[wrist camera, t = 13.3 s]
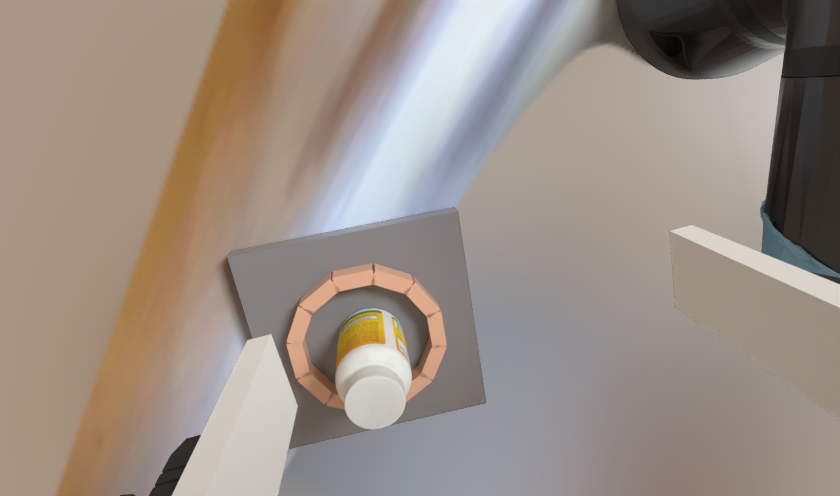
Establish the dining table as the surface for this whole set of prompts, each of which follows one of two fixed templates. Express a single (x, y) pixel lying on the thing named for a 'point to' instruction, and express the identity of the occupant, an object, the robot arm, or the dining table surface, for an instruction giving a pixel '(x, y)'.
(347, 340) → the supplement bottle
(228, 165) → the dining table surface
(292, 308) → the coaster stand
